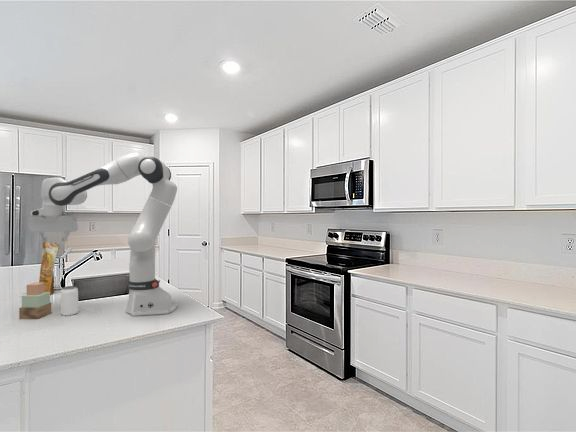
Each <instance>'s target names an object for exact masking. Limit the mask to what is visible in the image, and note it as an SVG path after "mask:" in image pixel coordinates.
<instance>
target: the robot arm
mask: <svg viewBox="0 0 576 432" xmlns="http://www.w3.org/2000/svg"><path fill="white" fill-rule="evenodd" d="M138 176H141V177H142V178H143V179H144V180H146V181H147V182H149V184H151V185H152V189H151V192H150V194H149V195H148V196H149V197H148V198H147V200H146V202H145V204H144V206H143V207H142V210H141V212H140V213H139V216H138V218H137V220H136V222H135V223H134V224H133V227H132V228H131V231H130V233H129V234H128V237H127V244H128V246H129V248H130V254H129V255H130V256H129V265H128V266H129V272H128V273H129V279H128V284H127V285H128V286H127V289H128V290H127V291H128V298H127V299H128V300H127V305H126V308H125V312H126V313H127V314H130V315H131V316H132V317H134V316H135V317H137V316H139V317H140V316H154V315H167V314H170V313H172V312H174V311H175V310H176V309H177V308H178V305H177V303H175V302H173V300H172V296H171V294H170V293H169V292H168V291H167V290H165V289H163V288H162V287H160V283H161V282H160V281H161V280H160V279H159V280H157V279H156V240H157V238H158V236H159V233H160V232H161V229H162V227H163V225H164V223H165V221H166V219H167V216H168V215H169V212H170V210H171V209H172V206H173V205H174V202H175V199H176V195H177V192H178V186H177V185H176V183H174V181H172V180H171V179H172V172H171V170H170V168H169V167H168V166H167V165H166V164H165V163H164V162H163V161H161V160H160V159H158V158H157V157H154V156H146V157H145V155H143V154H142V153H141V152H137V151H136V152H135V151H134V152H131V153H127V154H124V155H122V156H119V157H117V158H115V159H113V160H111V161H110V162H108V163H107V164H104V165H103V166H101V167H98V168H97V169H95V170H93V171H91V172H88V173H86V174H84V175H81V176H79V177H77V178H74V179H72V180H70V181H67V180H65V179H63V177H59V176H51V177H47V178H44V179H43V180H42V182H41V195H40V196H41V199H42V201H41V202H42V203H41V208H37V209H35V210H32V211H30V213H29V215H30V216H31V217H29V221H28V229H29V231H30V232H31V233H37V235H38V236H39V238H40V241H41V243H42V242H48V240H47V237H46V236H45V235H44V234H45V233H46V232H47V233H48V232H49V233H50V232H51V233H52V232H53V233H59V232H63V234H64V236H63V237H61V242H68V238H69V236H70V234H71V233H70V232H77V231H78V228H79V227H78V226H79V225H78V221H77V219H78V217H77V216H78V215H77V214H76V213H75V212H74V211H66V206H74V205H75V206H77V205H80V204H81V205H82V204H83V203H85V201H86V200H87V198H88V192H87V191H89V190H90V189H93V188H96V187H99V186H104V185H120V184H123V183H126V182H127V181H129V180H132V179H133V178H135V177H138Z"/></svg>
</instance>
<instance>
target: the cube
mask: <svg viewBox="0 0 576 432" xmlns="http://www.w3.org/2000/svg"><path fill="white" fill-rule="evenodd" d="M42 293H45V283H39V282H32V283H29V284H26V294H27V295H39V294H42Z"/></svg>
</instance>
